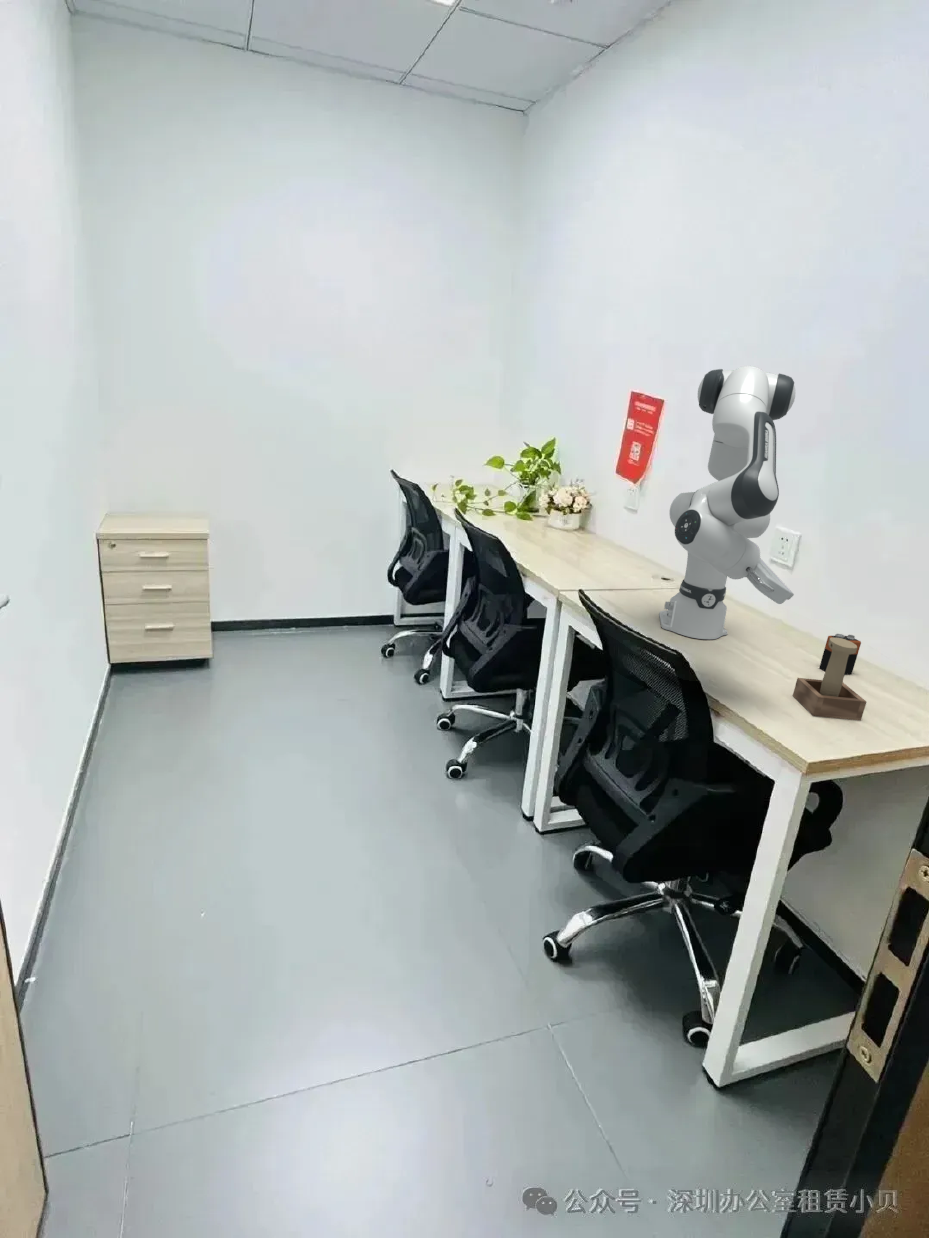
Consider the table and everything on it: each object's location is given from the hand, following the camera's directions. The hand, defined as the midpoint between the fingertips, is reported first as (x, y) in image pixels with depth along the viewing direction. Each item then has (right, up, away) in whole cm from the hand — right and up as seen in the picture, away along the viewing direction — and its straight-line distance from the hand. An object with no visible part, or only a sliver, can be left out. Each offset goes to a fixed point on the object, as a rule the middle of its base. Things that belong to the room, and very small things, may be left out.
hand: (779, 583), depth 154 cm
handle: (+11, -27, +1) cm, 29 cm away
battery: (+25, -21, +24) cm, 41 cm away
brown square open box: (+11, -28, +1) cm, 30 cm away
